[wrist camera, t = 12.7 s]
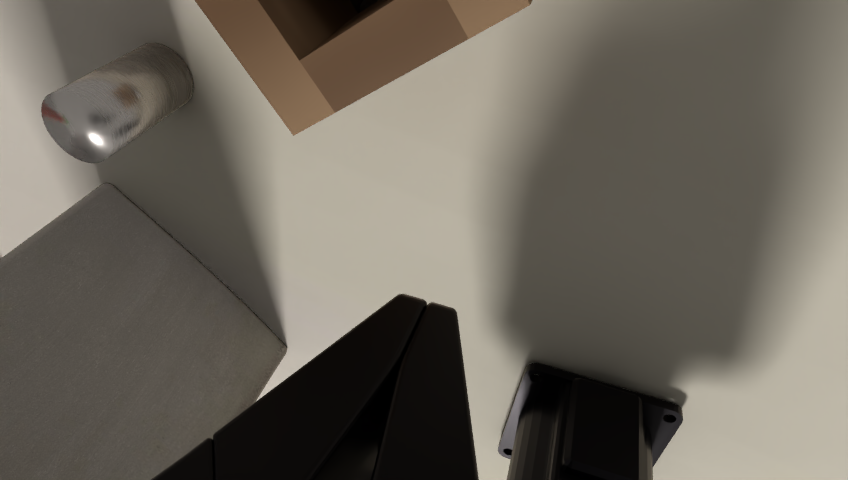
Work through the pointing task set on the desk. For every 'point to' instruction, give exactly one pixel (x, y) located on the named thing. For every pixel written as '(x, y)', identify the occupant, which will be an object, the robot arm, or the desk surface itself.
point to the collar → (342, 45)
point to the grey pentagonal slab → (118, 348)
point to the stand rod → (117, 102)
